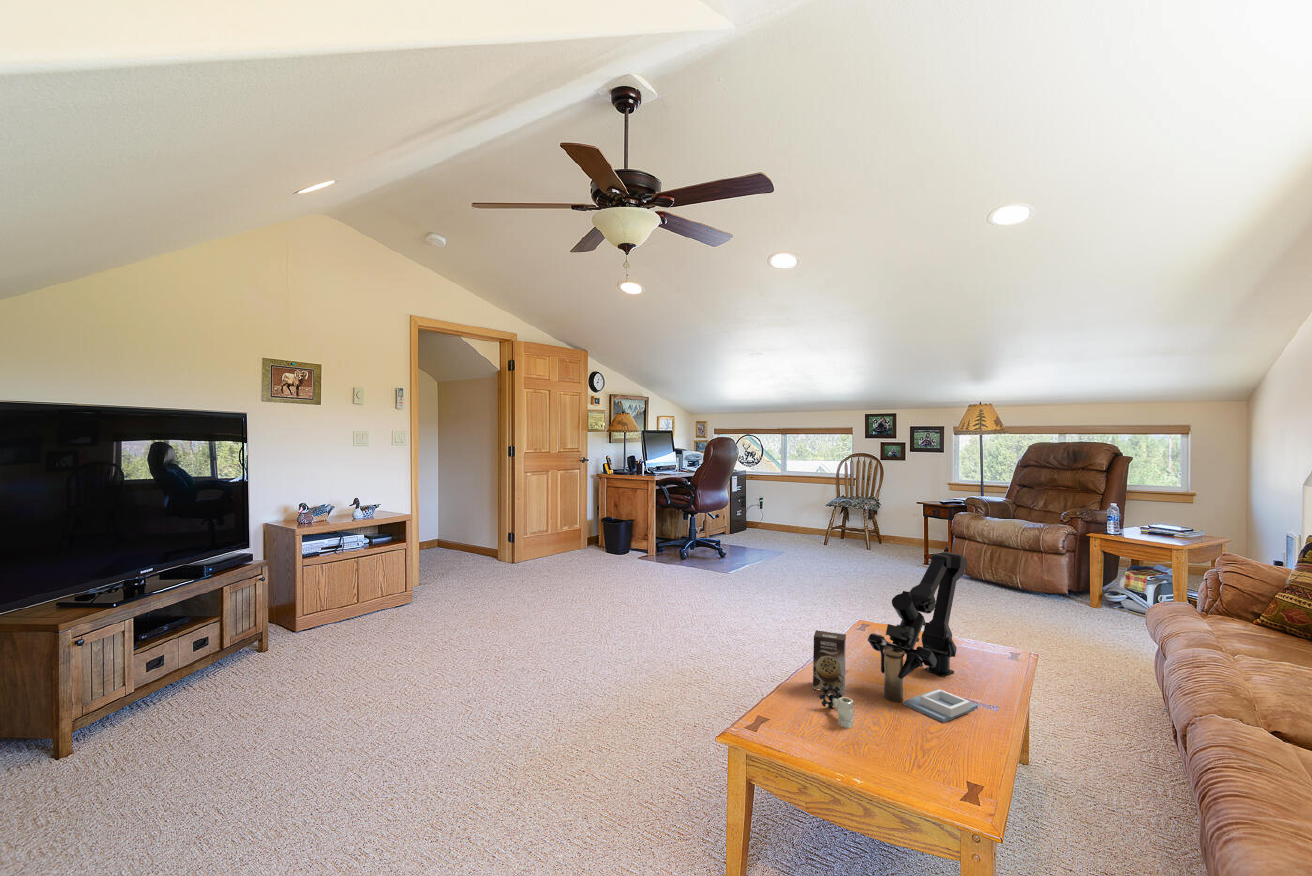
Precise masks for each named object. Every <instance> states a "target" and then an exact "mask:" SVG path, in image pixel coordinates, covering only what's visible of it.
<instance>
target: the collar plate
mask: <svg viewBox="0 0 1312 876" xmlns="http://www.w3.org/2000/svg"><path fill="white" fill-rule="evenodd" d="M902 702H903V703H902V704H903V706H905V707H907V708H910V709H912V710H915V711H916V712H919V713H921V714H923V715H926V716H928V717H930V718H932V719H934V720H936V721H938V722H941V723H943V724H944V723H947V722H949V721H951V720H954V719H957V718H958V717H961V716H964V715H966V714H968V713H971V712H973V711H976V710H978V709H979V705H978V704H976V703H975V702H971V701H970V700H967V699H965V698H962V697H960V696H958V695H955V694H954V693H953V694H952V693H950V692H947V691H945V690H942V689H940V688H936V689H933V690H931V691H927V692H925V693H923V694H919V695H916V696H914V697H910V698H907V699H905V700H903V701H902ZM977 708H978V709H977ZM975 709H976V710H975Z"/></svg>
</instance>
